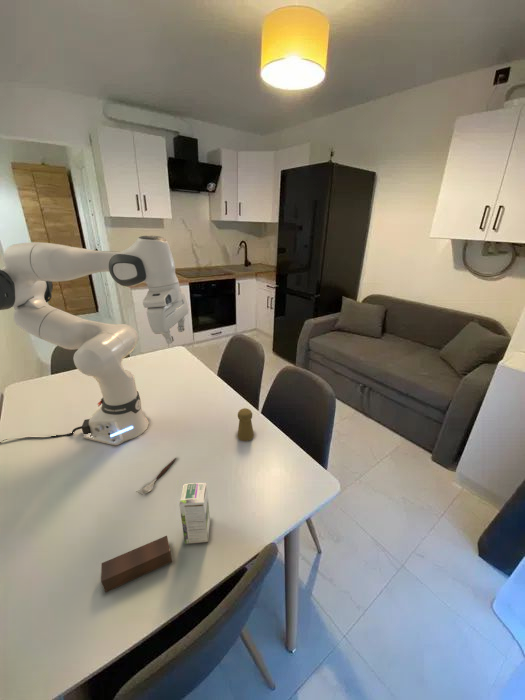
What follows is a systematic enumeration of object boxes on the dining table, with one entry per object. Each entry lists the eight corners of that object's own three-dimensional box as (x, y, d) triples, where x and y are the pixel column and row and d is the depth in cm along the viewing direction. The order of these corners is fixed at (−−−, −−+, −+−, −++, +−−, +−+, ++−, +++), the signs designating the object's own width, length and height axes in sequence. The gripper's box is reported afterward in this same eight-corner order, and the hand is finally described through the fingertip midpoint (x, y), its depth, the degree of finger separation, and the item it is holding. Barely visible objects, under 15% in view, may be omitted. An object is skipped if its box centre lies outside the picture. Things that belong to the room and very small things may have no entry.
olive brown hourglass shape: (251, 442, 103) (251, 417, 99) (235, 439, 104) (234, 415, 100) (255, 431, 109) (255, 407, 104) (239, 428, 110) (238, 405, 105)
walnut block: (105, 592, 62) (100, 581, 60) (105, 573, 65) (101, 563, 64) (172, 561, 67) (169, 551, 66) (169, 545, 71) (166, 535, 69)
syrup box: (188, 522, 76) (182, 483, 70) (211, 520, 77) (206, 481, 71) (184, 544, 71) (177, 504, 65) (209, 542, 71) (204, 502, 65)
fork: (179, 460, 96) (178, 456, 95) (143, 499, 82) (141, 494, 82) (173, 458, 97) (172, 453, 96) (136, 496, 83) (134, 491, 83)
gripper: (169, 286, 96) (179, 325, 101) (139, 303, 77) (152, 350, 83) (188, 285, 95) (196, 324, 100) (161, 302, 76) (173, 349, 82)
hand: (176, 336), depth 92 cm, fingers open, 8 cm apart
